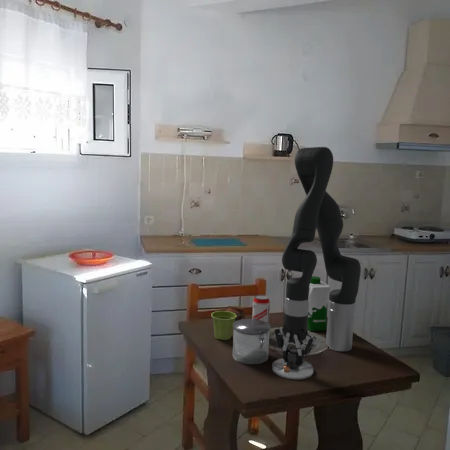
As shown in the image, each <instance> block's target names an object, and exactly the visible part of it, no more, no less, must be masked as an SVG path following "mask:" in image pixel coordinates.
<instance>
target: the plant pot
mask: <svg viewBox="0 0 450 450" xmlns="http://www.w3.org/2000/svg"><path fill="white" fill-rule="evenodd" d="M210 316H211V318H212V322H213V324H212V325H213V333H214V338H215V340H222V341H228V340H230V339H231V338H232V335H233V331H234V328H233V323H234V321H235V318H236V317H237V315H236V314H235V313H232V312H228V311H225V310H216V311H214V312H211V315H210Z"/></svg>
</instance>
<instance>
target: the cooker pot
mask: <svg viewBox="0 0 450 450" xmlns="http://www.w3.org/2000/svg"><path fill="white" fill-rule="evenodd" d="M271 329H272V327H271V324H270V323H269V324H268V323H267V322H264V321H261V320H256V319H252V318H245V319H242V320H238V321H235V322H234V323H233V332H232V335H233V338H232V358H233V359H234V361H236V362H238V363H242V364H244V365H259V364H263V363H265V362H267V361H268V360H269V349H270V330H271Z"/></svg>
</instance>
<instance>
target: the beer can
mask: <svg viewBox="0 0 450 450" xmlns="http://www.w3.org/2000/svg"><path fill="white" fill-rule="evenodd" d="M270 305H271V300H270V297H269V296H268V295H265V294H257V295H255V296H254V299H253V300H252V315H251V316H252V317H251V319H256V320H261V321H264V322H267V323H268V324H270V310H271V309H270V307H271V306H270Z"/></svg>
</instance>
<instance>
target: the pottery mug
mask: <svg viewBox="0 0 450 450" xmlns="http://www.w3.org/2000/svg"><path fill="white" fill-rule="evenodd" d="M224 311H228V312H232V313H235V314H236V315H237V317H236V318H235V321H238V320H242V319H246V311H245V310H243V309H241V308H238V307H236V306H234V305H228V306H227V308H226V309H225V310H224ZM235 321H234V322H235Z"/></svg>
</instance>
